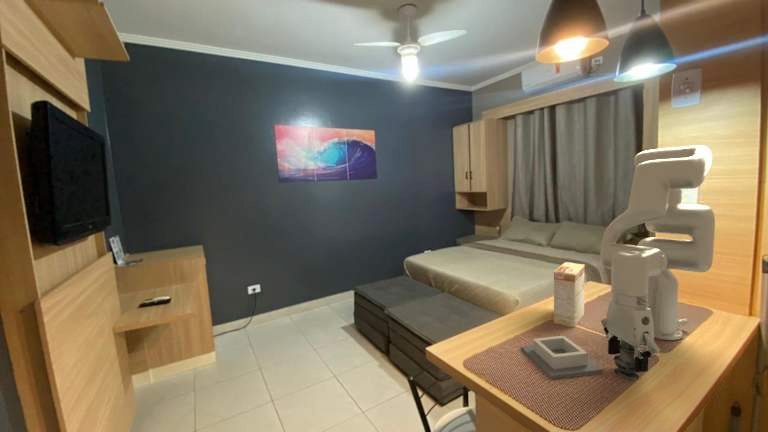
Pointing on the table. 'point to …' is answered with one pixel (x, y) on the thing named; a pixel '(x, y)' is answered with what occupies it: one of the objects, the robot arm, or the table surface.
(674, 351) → the table surface
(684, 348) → the table surface
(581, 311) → the coffeecake box
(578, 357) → the socket
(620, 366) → the grey turned piece
